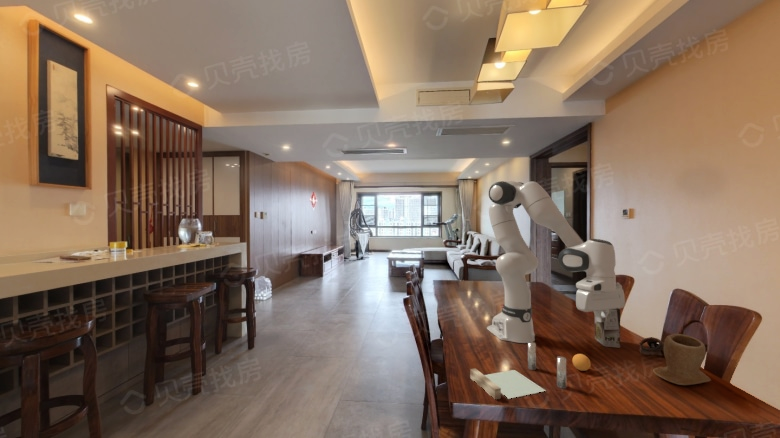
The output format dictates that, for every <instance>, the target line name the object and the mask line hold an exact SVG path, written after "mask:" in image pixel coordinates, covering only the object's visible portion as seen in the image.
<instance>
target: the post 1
mask: <svg viewBox="0 0 780 438" xmlns="http://www.w3.org/2000/svg"><path fill="white" fill-rule="evenodd" d="M536 358H537V343H536V342H535V341H533V342H528V343H527V368H528V370H531V371H535V370H536V369H537V359H536Z"/></svg>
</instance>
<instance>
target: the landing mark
mask: <svg viewBox="0 0 780 438" xmlns="http://www.w3.org/2000/svg"><path fill="white" fill-rule="evenodd" d="M483 375H484V376H486V377H487V378H488V379H490V380H491V381H492V382H493V383H495V384H496V385H497V386H498V387H500V388H501V395H502V396H504V395H505V396H506V397H507V399H508V400H511V398H512V399H517V398H520V397H521V398H522V397H525V396H526V395H527V396H530V394H531V395H535V394H540V393H539V392H541V393H545V392H547V390H546V389H545V388H543V387H541V386H539V385H538V384H537V383H535V382H533V381H532V380H530V379H529V378H528V377H526V376H525V375H523V374H521V372H518V371H517V370H515V369H511V370H505V371H500V372H494V373H489V374H483ZM544 391H545V392H544ZM505 396H504V397H505ZM506 397H505V398H506ZM516 397H517V398H516Z"/></svg>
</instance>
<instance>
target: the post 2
mask: <svg viewBox="0 0 780 438" xmlns="http://www.w3.org/2000/svg"><path fill="white" fill-rule="evenodd" d="M556 387H558V388H559V389H562V390H565V389H567V358H566V357H564V356H557V357H556Z"/></svg>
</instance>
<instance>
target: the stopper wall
mask: <svg viewBox="0 0 780 438" xmlns="http://www.w3.org/2000/svg"><path fill="white" fill-rule="evenodd" d="M469 370H470V371H469V374H470V375H469V378H470V379H471V381H473V382H474V381H475V382H476V383H477V386H479V387H480V388H481V387H482V388H483V389H484V390H485V392H486V393H487V394H488V395H489V396H490V397H491V396H492V397H493V400H495V399H496V400H500V399H501V398H502V397H501V396H502V393H501V388H500V387H498V386H497V385H496V384H495V383H493V382H492V381H491V380H490V379H488V378H487V377H486V376H484V375H485V374H483V373H482V372H481V371H480V370H478V369H477V368H470V369H469ZM476 383H475V384H476ZM482 388H481V389H482ZM483 389H482V390H483ZM484 390H483V391H484ZM492 397H491V398H492Z"/></svg>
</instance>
